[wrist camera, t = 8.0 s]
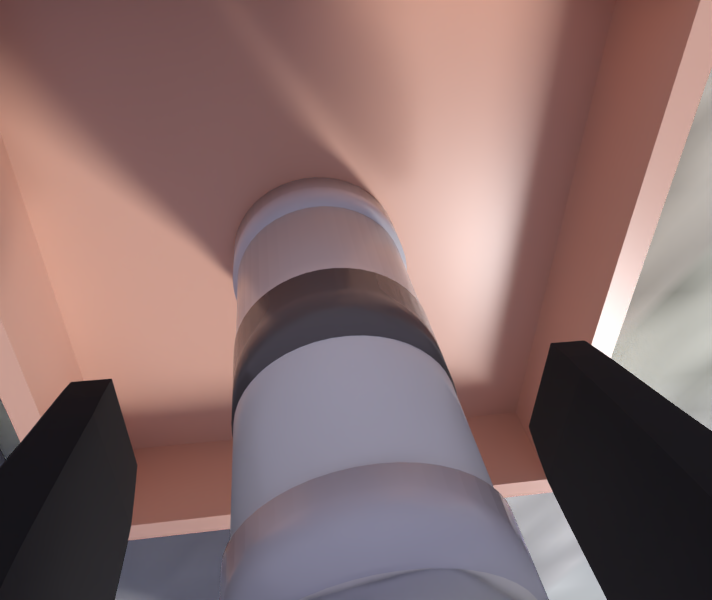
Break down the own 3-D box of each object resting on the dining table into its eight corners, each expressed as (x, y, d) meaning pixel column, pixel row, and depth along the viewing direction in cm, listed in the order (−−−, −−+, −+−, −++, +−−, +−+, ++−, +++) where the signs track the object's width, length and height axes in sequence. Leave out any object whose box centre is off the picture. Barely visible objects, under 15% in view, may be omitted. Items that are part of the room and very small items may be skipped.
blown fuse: (400, 173, 13) (589, 540, 6) (391, 312, 15) (520, 704, 8) (225, 181, 13) (192, 592, 5) (241, 323, 15) (234, 752, 8)
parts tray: (649, -74, 11) (756, -61, 9) (524, 412, 19) (564, 490, 17) (-97, -83, 10) (-212, -70, 7) (93, 454, 17) (68, 547, 15)
